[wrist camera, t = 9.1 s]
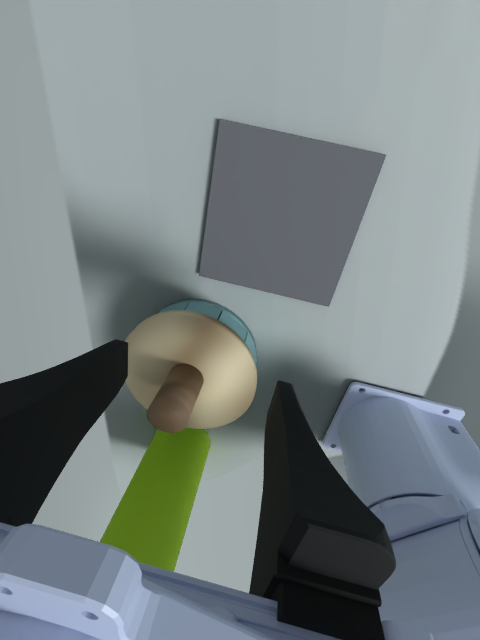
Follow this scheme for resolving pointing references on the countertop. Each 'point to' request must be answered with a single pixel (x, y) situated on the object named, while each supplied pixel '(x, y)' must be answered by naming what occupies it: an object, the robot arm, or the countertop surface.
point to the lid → (189, 371)
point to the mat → (284, 210)
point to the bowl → (218, 318)
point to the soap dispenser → (160, 498)
